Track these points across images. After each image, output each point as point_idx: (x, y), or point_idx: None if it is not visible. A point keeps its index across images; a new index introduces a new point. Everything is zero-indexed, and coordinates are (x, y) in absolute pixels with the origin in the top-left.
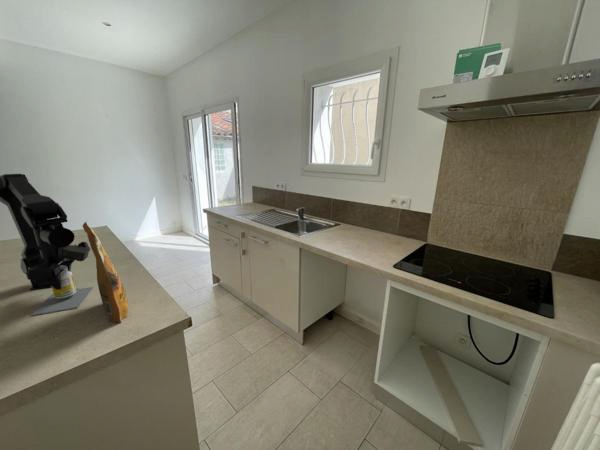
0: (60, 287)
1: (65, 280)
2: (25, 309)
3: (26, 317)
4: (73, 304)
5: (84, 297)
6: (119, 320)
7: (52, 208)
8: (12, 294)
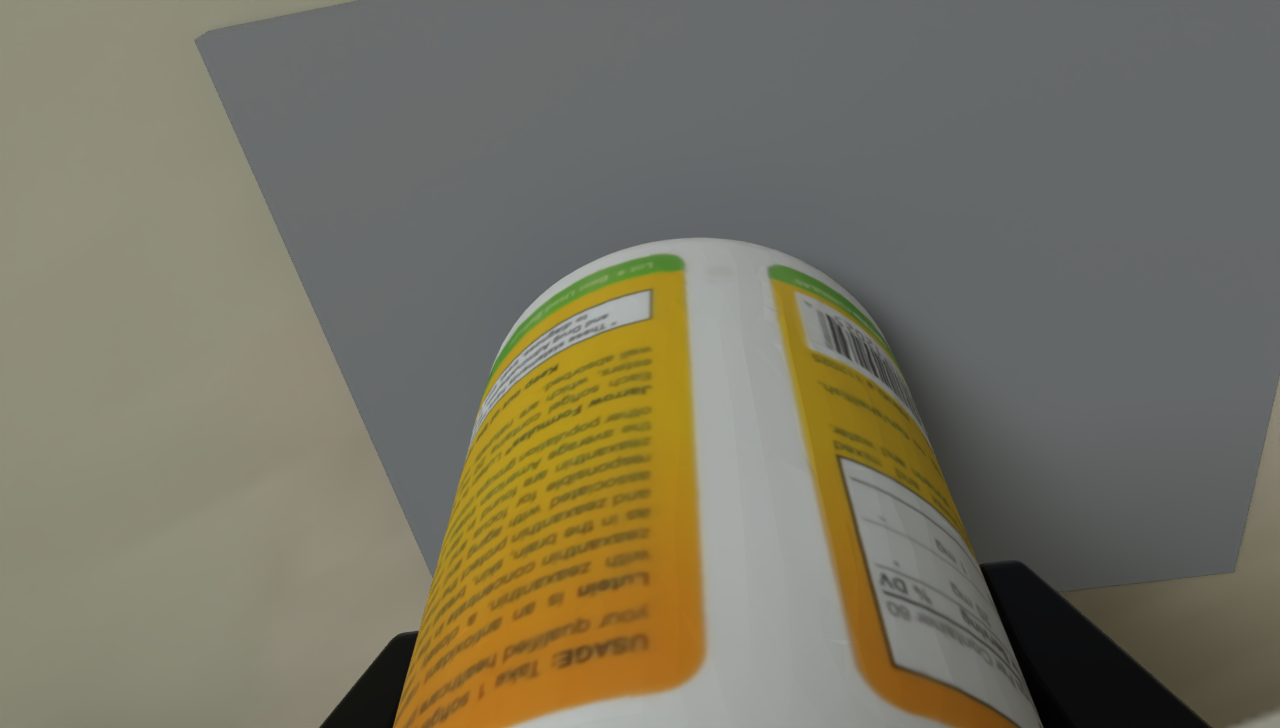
0: (1059, 596)
1: (994, 690)
2: None
3: (1225, 586)
4: (1167, 5)
5: None
6: None
7: None
8: None
